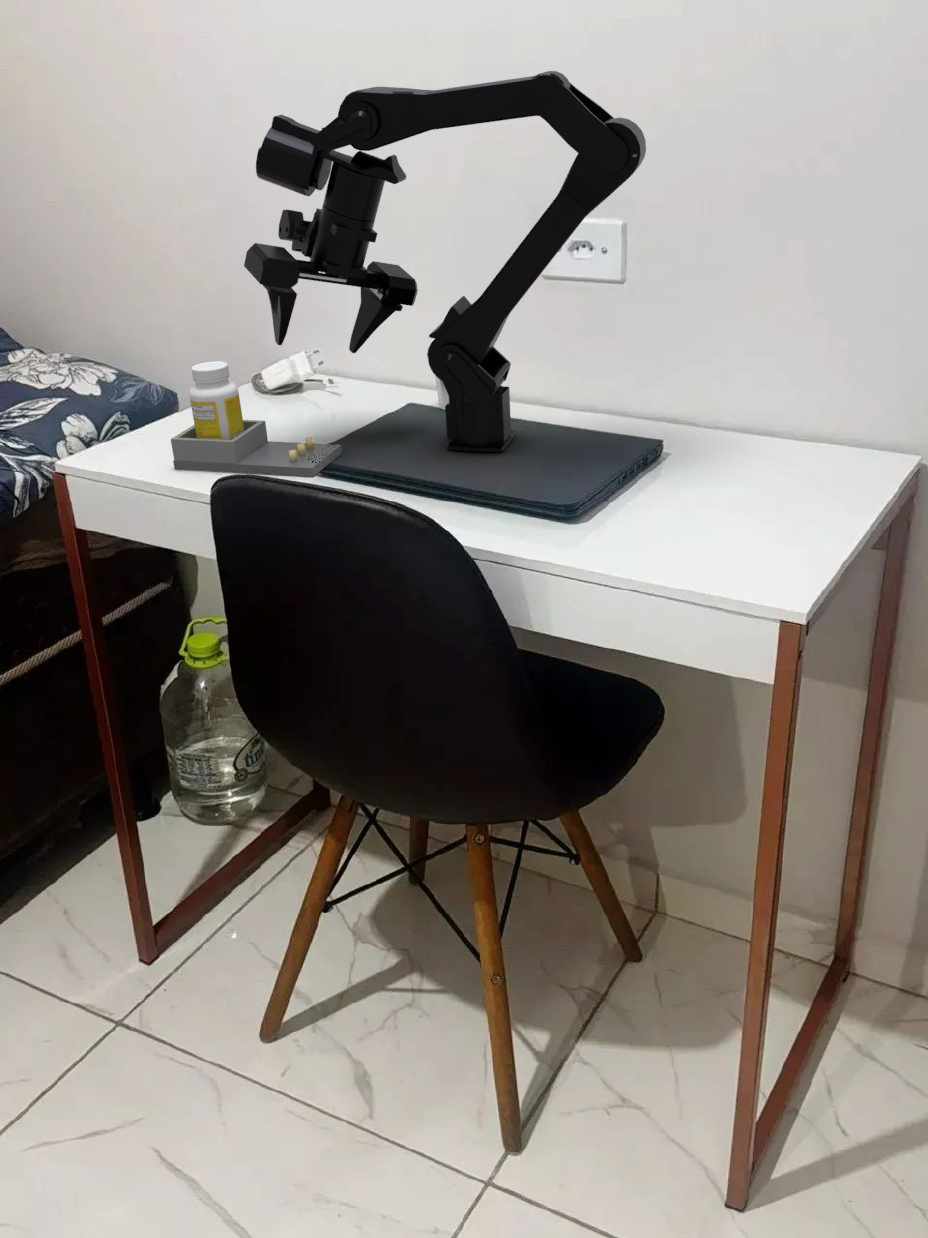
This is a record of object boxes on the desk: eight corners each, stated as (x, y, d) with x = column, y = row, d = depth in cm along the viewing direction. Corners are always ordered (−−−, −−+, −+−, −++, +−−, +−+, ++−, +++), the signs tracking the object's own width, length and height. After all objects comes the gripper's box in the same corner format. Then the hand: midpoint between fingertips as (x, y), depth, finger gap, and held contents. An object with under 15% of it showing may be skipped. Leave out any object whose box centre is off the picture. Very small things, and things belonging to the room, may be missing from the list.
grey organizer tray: (341, 453, 134) (338, 423, 133) (313, 476, 127) (309, 445, 126) (208, 446, 139) (204, 417, 138) (174, 469, 132) (169, 439, 131)
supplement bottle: (242, 440, 137) (229, 356, 133) (251, 453, 133) (239, 367, 128) (195, 448, 136) (181, 363, 131) (203, 461, 131) (189, 374, 127)
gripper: (393, 200, 137) (360, 327, 144) (242, 172, 126) (214, 310, 134) (436, 234, 129) (398, 366, 137) (278, 206, 119) (247, 351, 127)
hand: (315, 347), depth 134 cm, fingers open, 9 cm apart
